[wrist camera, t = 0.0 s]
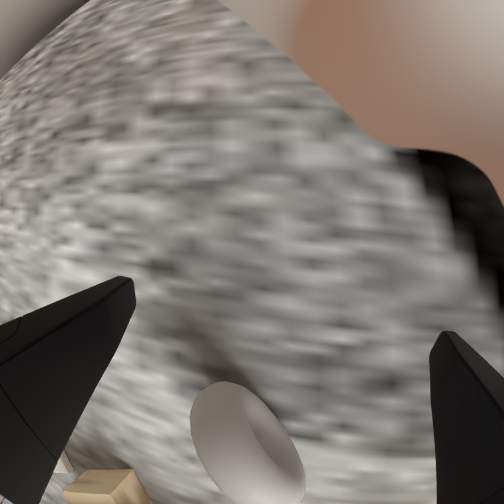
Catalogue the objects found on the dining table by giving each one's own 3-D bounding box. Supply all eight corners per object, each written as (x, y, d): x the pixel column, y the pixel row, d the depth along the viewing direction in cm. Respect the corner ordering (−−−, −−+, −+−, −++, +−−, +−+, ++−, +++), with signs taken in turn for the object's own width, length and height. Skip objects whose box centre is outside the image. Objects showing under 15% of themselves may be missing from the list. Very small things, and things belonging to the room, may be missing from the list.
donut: (311, 451, 22) (321, 531, 12) (275, 470, 22) (267, 551, 12) (238, 356, 23) (207, 404, 13) (202, 379, 23) (152, 433, 13)
